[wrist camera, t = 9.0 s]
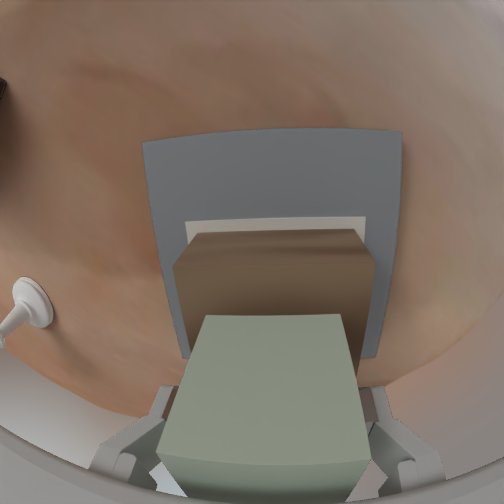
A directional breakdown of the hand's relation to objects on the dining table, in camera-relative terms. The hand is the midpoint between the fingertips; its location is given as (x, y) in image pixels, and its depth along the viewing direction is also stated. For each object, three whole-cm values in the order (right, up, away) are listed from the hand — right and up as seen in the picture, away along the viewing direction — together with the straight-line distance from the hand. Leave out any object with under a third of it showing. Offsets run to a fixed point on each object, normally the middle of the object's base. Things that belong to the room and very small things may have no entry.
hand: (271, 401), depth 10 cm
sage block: (0, +1, +2) cm, 2 cm away
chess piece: (-20, +1, +11) cm, 23 cm away
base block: (+1, +3, +7) cm, 7 cm away
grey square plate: (+1, +5, +7) cm, 9 cm away
